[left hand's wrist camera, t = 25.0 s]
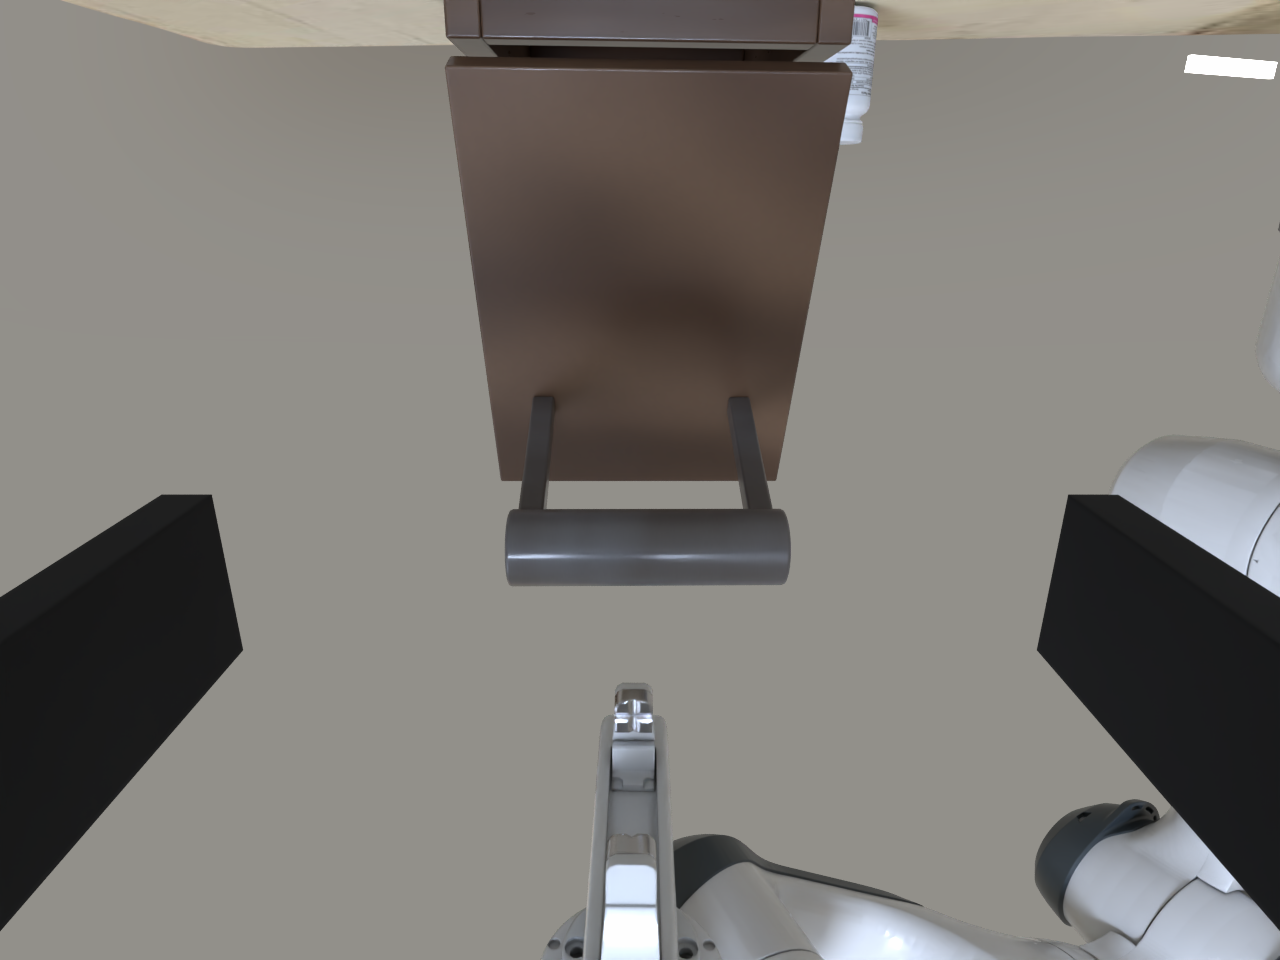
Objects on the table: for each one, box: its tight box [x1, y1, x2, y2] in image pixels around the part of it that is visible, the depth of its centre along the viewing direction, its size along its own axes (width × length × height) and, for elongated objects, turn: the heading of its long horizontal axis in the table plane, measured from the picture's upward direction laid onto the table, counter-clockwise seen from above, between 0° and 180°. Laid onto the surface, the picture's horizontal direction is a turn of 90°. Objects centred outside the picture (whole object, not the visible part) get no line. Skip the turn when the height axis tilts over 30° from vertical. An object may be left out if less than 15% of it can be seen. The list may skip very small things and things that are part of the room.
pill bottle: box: [824, 6, 878, 145], centre depth 56 cm, size 5×5×8 cm
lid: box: [445, 56, 853, 586], centre depth 21 cm, size 14×10×8 cm
